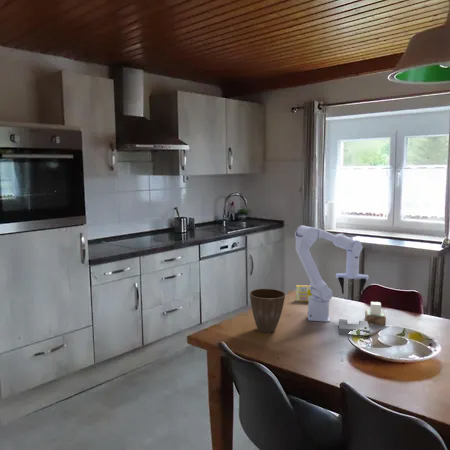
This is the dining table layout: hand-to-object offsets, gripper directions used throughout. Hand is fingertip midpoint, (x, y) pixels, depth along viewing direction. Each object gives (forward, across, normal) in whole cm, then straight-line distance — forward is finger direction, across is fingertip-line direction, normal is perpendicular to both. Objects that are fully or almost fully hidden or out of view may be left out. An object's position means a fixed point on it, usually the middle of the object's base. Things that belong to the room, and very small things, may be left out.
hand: (351, 293), depth 209 cm
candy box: (+11, -18, +20) cm, 29 cm away
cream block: (+6, +10, -7) cm, 14 cm away
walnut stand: (+10, +10, -7) cm, 16 cm away
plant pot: (+11, -36, -27) cm, 47 cm away
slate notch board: (+10, 0, -20) cm, 23 cm away
